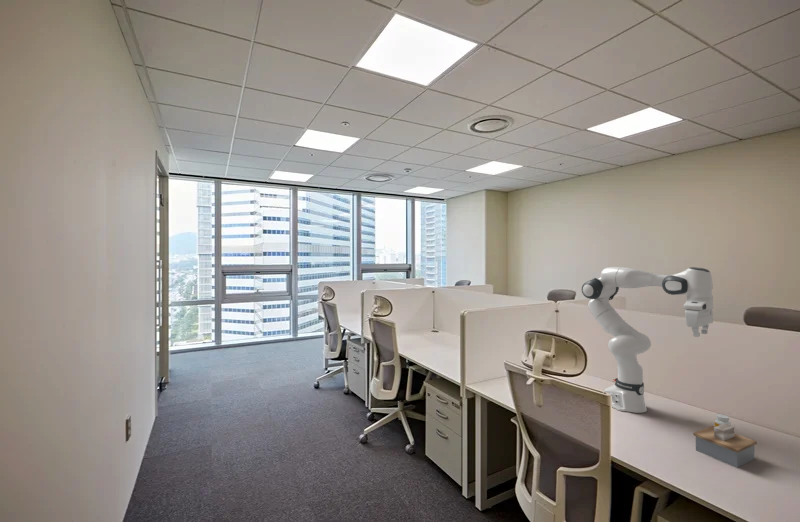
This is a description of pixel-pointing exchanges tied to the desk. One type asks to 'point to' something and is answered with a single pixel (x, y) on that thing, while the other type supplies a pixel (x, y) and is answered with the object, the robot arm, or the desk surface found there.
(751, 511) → the desk surface
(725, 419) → the supplement bottle
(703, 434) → the lid
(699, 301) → the robot arm
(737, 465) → the storage box
